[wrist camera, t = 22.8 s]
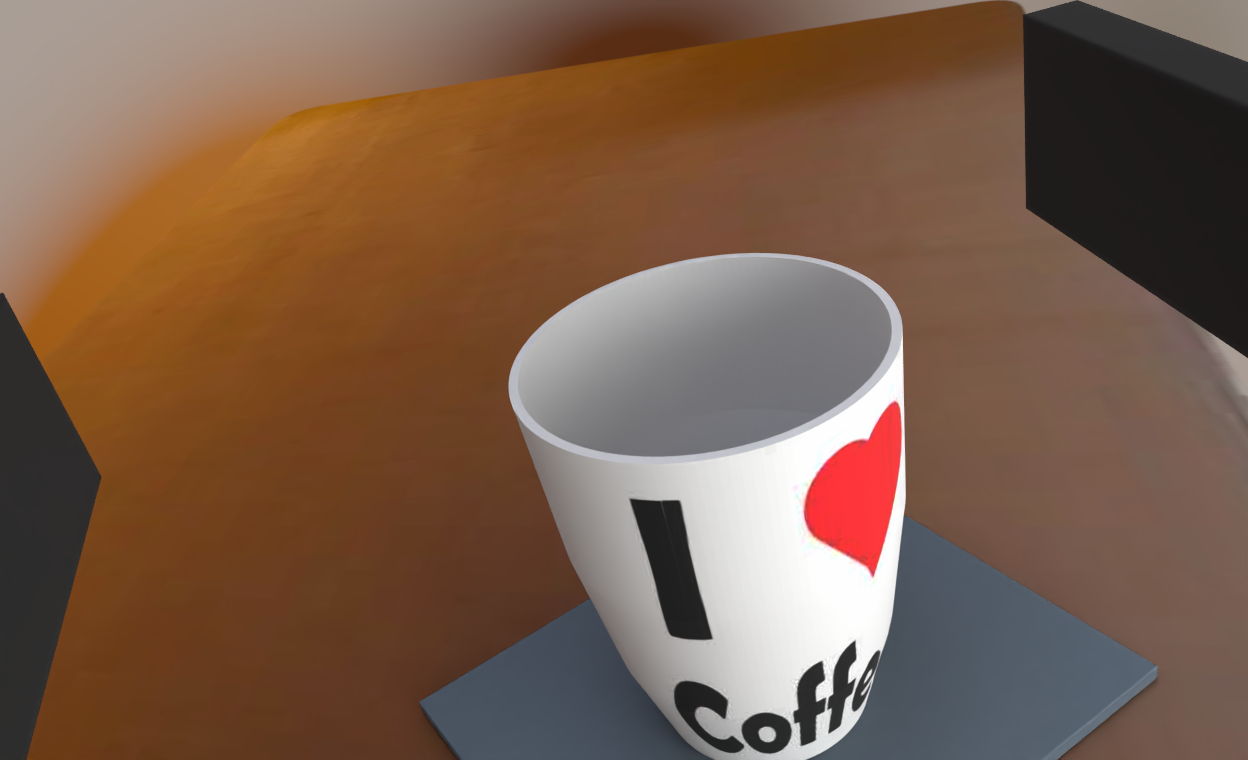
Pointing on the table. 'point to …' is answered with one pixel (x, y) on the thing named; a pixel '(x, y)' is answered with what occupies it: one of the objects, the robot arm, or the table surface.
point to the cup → (730, 487)
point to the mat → (896, 705)
